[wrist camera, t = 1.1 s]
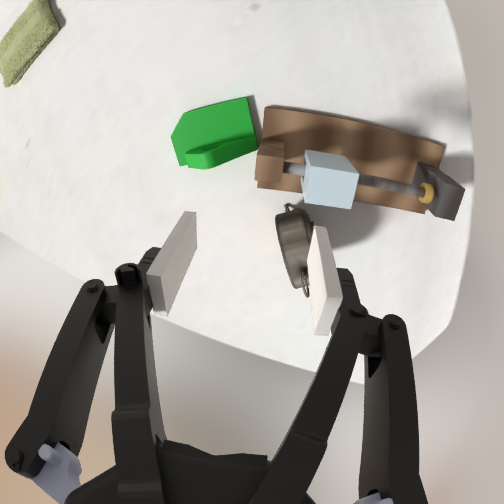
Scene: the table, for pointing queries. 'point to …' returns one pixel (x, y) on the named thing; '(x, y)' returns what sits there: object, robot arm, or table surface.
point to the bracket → (214, 134)
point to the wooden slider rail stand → (358, 161)
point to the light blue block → (328, 180)
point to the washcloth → (26, 40)
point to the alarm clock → (295, 244)
